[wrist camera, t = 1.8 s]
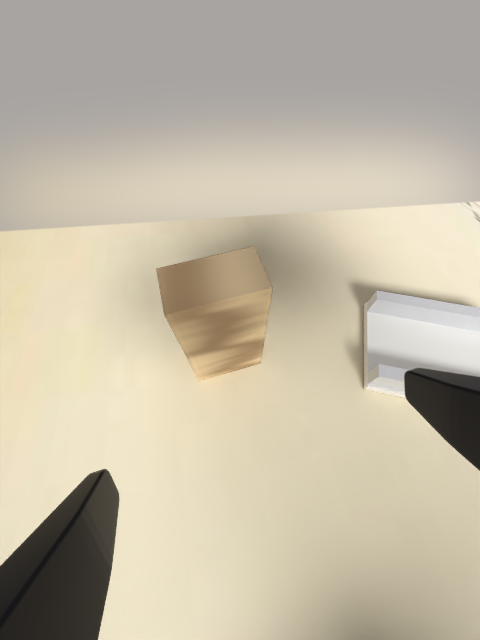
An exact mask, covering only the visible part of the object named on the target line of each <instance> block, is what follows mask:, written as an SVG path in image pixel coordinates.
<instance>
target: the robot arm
mask: <svg viewBox="0 0 480 640" xmlns="http://www.w3.org/2000/svg"><path fill="white" fill-rule="evenodd" d="M404 388H405V397H406V399H407V400H408V402H409V403H410V404H411V405H412V406H413V407H414V408H415V409H416V410H417V411H418V412H419V413H420V414H421V415H422V416H423V417H424V419H425V420H426V421H427V422H428V423H429V424H430V425H431V426H432V427H433V428H434V429H435V430H436V431H437V432H438V433H439V434H440V435H441V436H442V437H443V438H444V439H445V440H446V441H447V442H448V443H449V444H450V445H451V446H452V447H453V448H455V449H456V450H457V451H458V452H459V453H460V454H461V455H462V456H464V457H465V458H466V459H467V460H468V461H469V462H470V463H472V464H473V465H474V466H475V467H476V468H477V469H478V470H479V471H480V377H477V376H471V375H464V374H458V373H451V372H445V371H438V370H432V369H425V368H414V369H411V370H408V371H406V372H405V374H404ZM118 508H119V493H118V490H117V488H116V485H115V483H114V481H113V479H112V477H111V475H110V473H109V471H108V470H106V469H102V470H99V471H96V472H93V473H91V474H89V475H88V476H87V477H86V478H85V479H84V480H83V481H82V482H81V483H80V484H79V485H78V486H77V487H76V488H75V489H74V490H73V491H72V492H71V493H70V494H69V495H68V497H67V498H66V499H65V500H64V501H63V502H62V503H61V504H60V505H59V506H58V507H57V508H56V509H55V510H54V511H53V512H52V513H51V514H50V515H49V516H48V517H47V518H46V519H45V520H44V521H43V522H42V523H41V524H40V526H39V527H38V528H37V529H36V530H35V531H34V532H33V533H32V534H31V535H30V536H29V537H28V538H27V539H26V540H25V541H24V542H23V543H22V544H21V545H20V546H19V547H18V548H17V549H16V550H15V551H14V552H13V553H12V555H11V556H10V557H9V558H8V559H7V560H6V561H5V562H4V563H3V564H2V565H1V566H0V640H98V636H99V631H100V626H101V621H102V616H103V611H104V606H105V601H106V596H107V591H108V586H109V581H110V576H111V570H112V562H113V554H114V545H115V536H116V527H117V517H118Z"/></svg>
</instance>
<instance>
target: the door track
mask: <svg viewBox="0 0 480 640" xmlns="http://www.w3.org/2000/svg"><path fill="white" fill-rule="evenodd" d="M414 368H425V369H432V370H438V371H445V372H451V373H458V374H464V375H471V376H477V377H480V308H477V307H471V306H465V305H459V304H454V303H448V302H442V301H436V300H430V299H424V298H419V297H413V296H407V295H401V294H395V293H389V292H384V291H378V290H376V292H375V293H374V294H373V296H372V297H371V298H370V300H369V301H367V302H366V303H365V305H364V389H366V390H371V391H375V392H380V393H384V394H389V395H393V396H398V397H403V398H406V397H405V388H404V374H405V372H406V371H408V370H411V369H414Z"/></svg>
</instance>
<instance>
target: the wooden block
mask: <svg viewBox="0 0 480 640" xmlns="http://www.w3.org/2000/svg"><path fill="white" fill-rule="evenodd" d="M156 271H157V277H158V282H159V288H160V293H161V299H162V304H163V310H164V315H165V317H166V319H167V321H168V323H169V325H170V327H171V328H172V330H173V332H174V334H175V336H176V338H177V340H178V342H179V343H180V345H181V347H182V349H183V351H184V353H185V355H186V357H187V359H188V360H189V362H190V364H191V366H192V368H193V370H194V372H195V374H196V376H197V377H198V379H199V381H201V380H205V379H208V378H212V377H215V376H218V375H222V374H225V373H229V372H232V371H235V370H239V369H242V368H246V367H249V366H252V365H256V364H259V363H261V358H262V352H263V346H264V340H265V333H266V327H267V321H268V315H269V308H270V302H271V296H272V290H273V286H272V284H271V282H270V280H269V278H268V275H267V273H266V271H265V269H264V267H263V264H262V262H261V260H260V258H259V256H258V253H257V251H256V249H255V247H254V246H252V247H248V248H244V249H239V250H235V251H231V252H226V253H222V254H218V255H213V256H209V257H205V258H201V259H196V260H192V261H188V262H183V263H179V264H175V265H170V266H166V267H162V268H157V269H156Z"/></svg>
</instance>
